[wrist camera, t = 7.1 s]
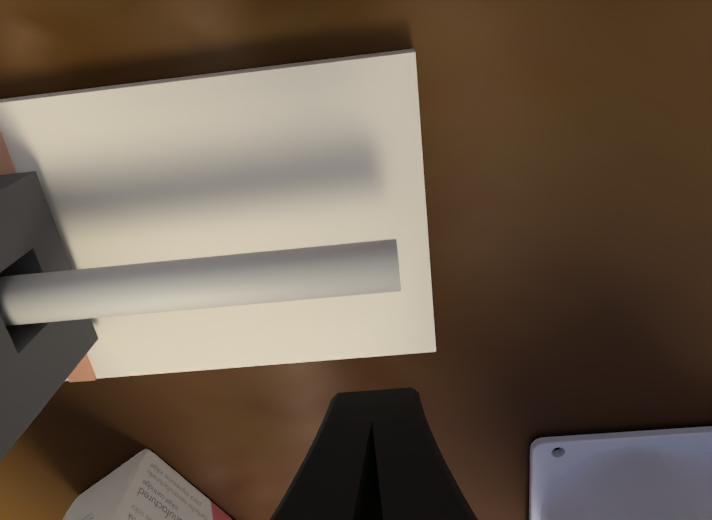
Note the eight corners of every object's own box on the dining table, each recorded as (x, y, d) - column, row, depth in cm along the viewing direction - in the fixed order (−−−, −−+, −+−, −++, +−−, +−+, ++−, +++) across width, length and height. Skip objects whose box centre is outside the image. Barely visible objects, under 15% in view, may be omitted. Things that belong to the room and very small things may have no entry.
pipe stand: (413, 48, 16) (441, 94, 9) (433, 335, 21) (463, 520, 14) (-212, 125, 18) (-601, 215, 11) (-73, 377, 22) (-287, 561, 15)
